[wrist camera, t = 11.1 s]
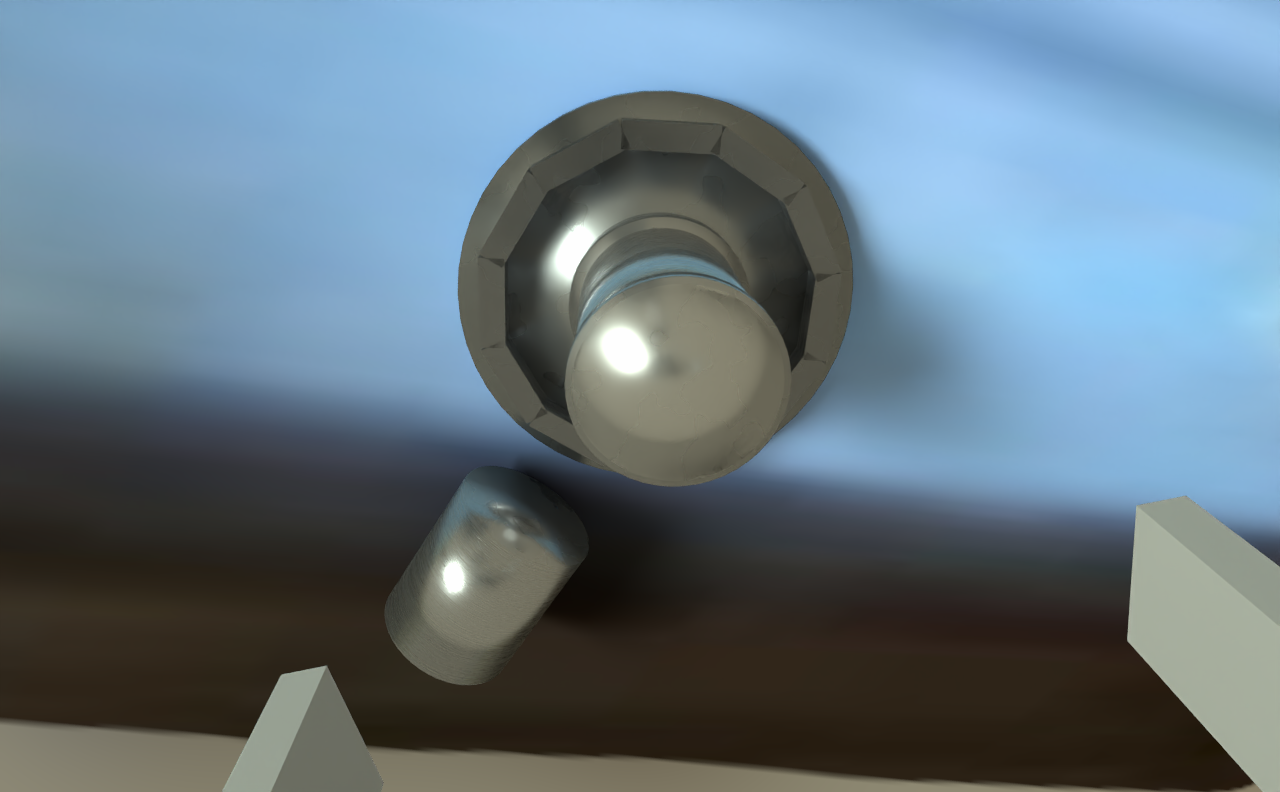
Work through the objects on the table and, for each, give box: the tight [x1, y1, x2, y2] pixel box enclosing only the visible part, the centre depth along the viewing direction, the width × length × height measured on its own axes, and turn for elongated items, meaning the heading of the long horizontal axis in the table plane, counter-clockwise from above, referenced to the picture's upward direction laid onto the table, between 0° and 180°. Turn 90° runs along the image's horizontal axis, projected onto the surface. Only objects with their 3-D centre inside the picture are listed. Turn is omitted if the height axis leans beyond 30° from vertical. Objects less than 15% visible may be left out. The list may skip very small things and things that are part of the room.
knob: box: [565, 212, 791, 486], centre depth 27 cm, size 7×7×9 cm
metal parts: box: [385, 91, 853, 685], centre depth 31 cm, size 25×16×6 cm, turn 147°
